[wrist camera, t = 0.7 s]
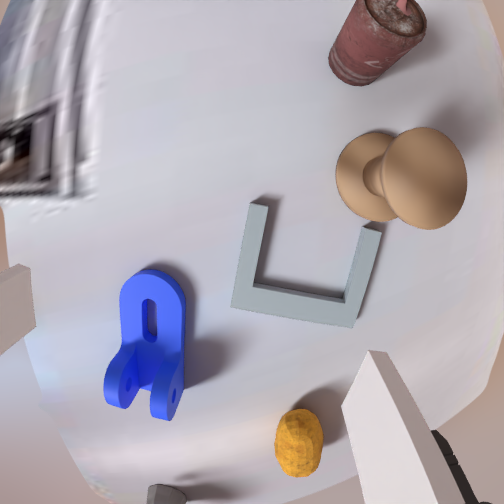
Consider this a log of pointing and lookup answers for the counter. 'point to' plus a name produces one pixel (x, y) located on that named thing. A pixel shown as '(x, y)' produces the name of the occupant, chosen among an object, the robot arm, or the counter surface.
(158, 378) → the bracket
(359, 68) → the can
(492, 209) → the counter surface
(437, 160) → the bobbin
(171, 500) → the coffeepot
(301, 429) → the potato
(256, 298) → the grey u-shaped frame
